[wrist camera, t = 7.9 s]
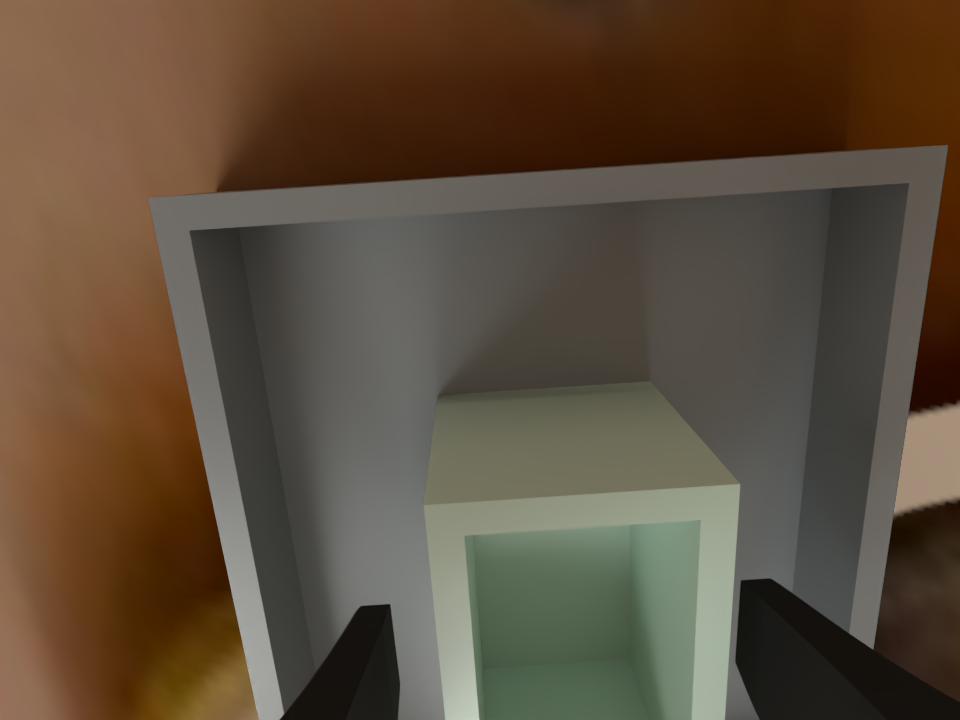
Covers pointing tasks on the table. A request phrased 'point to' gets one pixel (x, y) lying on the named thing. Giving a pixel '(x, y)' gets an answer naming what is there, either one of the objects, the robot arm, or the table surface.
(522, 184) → the grey tray
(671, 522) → the mint crate
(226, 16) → the table surface
